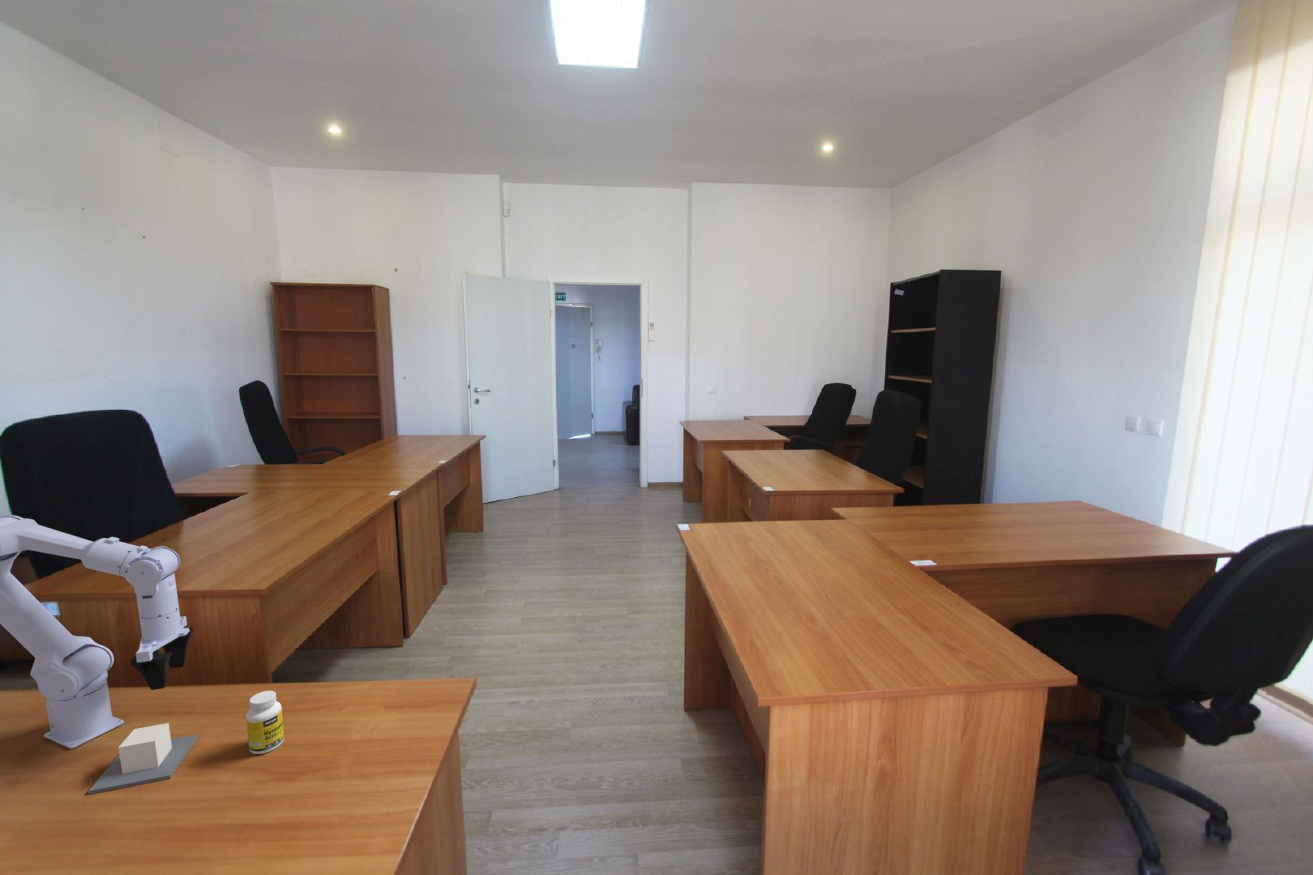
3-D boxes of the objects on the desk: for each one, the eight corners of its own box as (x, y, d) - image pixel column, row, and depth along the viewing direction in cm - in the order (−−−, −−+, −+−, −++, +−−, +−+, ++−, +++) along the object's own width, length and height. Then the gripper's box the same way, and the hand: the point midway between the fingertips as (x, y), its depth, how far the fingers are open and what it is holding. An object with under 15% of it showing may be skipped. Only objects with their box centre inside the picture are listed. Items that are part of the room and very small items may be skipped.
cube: (122, 773, 96) (118, 747, 95) (137, 754, 100) (134, 729, 100) (158, 766, 97) (154, 740, 97) (171, 747, 102) (168, 722, 101)
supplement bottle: (266, 757, 101) (261, 707, 99) (242, 752, 102) (236, 703, 100) (291, 737, 106) (287, 689, 104) (268, 733, 107) (262, 686, 105)
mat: (88, 794, 92) (88, 791, 92) (126, 749, 102) (125, 746, 102) (170, 778, 96) (169, 775, 95) (198, 736, 106) (198, 734, 106)
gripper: (166, 625, 101) (175, 694, 103) (201, 593, 115) (208, 654, 117) (117, 631, 99) (128, 701, 101) (159, 598, 113) (167, 660, 115)
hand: (168, 677), depth 109 cm, fingers open, 7 cm apart
